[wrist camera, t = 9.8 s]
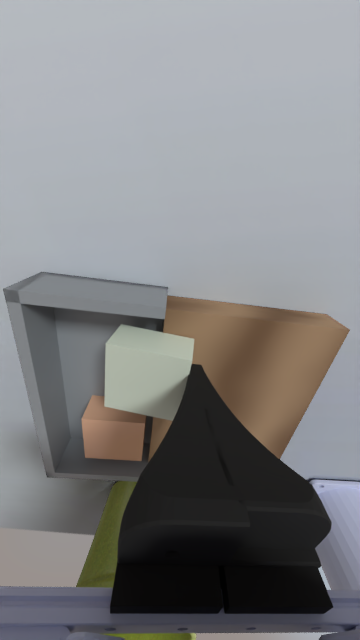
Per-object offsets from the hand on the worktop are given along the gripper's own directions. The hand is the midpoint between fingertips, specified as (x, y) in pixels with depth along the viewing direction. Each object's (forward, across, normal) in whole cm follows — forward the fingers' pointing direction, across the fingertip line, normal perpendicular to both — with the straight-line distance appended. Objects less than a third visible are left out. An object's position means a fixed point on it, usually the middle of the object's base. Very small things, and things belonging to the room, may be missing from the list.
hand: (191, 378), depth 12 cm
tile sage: (+1, +2, 0) cm, 2 cm away
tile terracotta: (+3, +4, +7) cm, 8 cm away
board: (+3, -3, +3) cm, 5 cm away
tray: (+3, +5, +3) cm, 7 cm away
